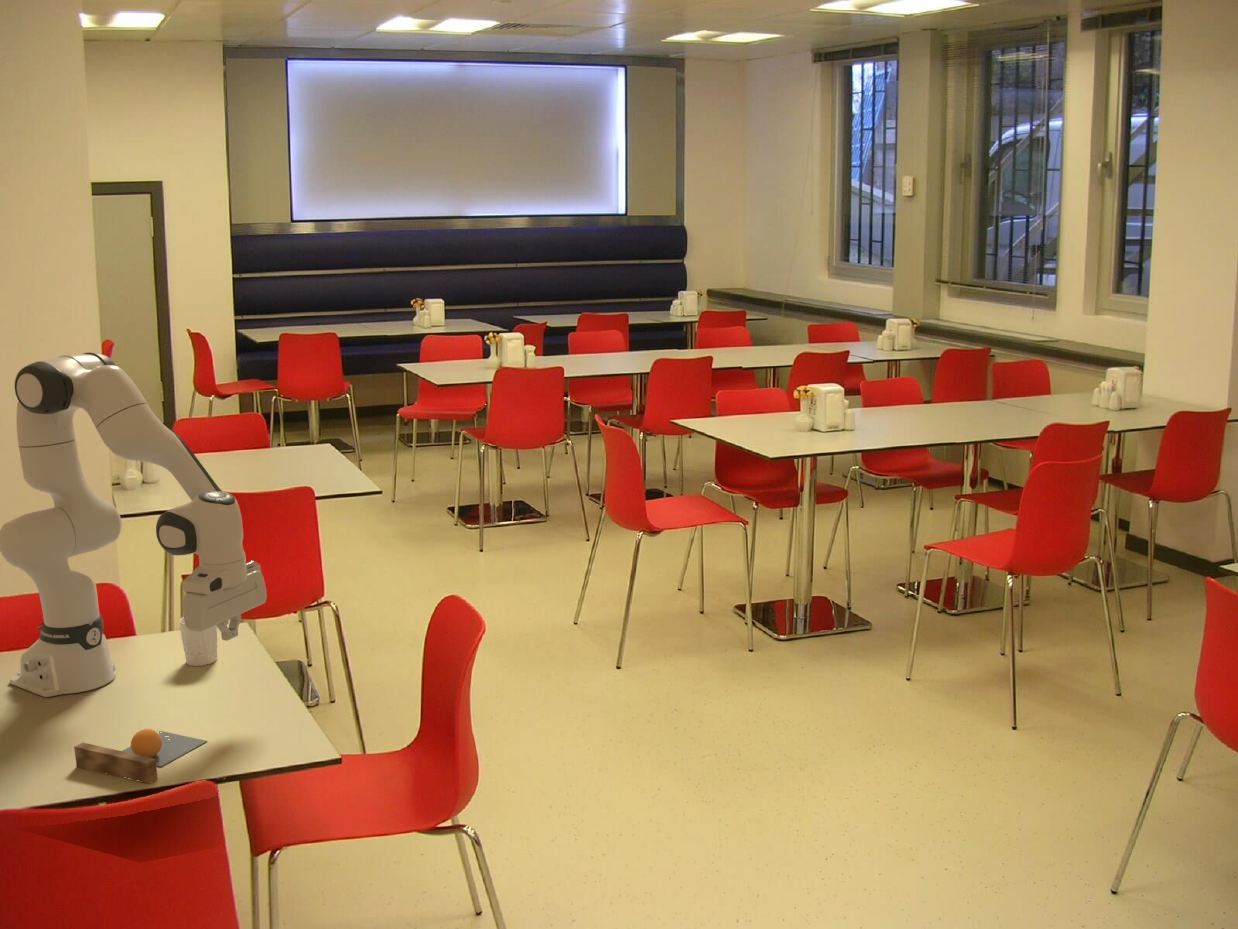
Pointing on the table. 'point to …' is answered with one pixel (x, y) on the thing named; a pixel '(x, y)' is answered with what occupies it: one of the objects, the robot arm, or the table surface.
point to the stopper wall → (115, 762)
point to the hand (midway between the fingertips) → (230, 638)
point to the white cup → (199, 645)
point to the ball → (146, 743)
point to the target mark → (173, 747)
